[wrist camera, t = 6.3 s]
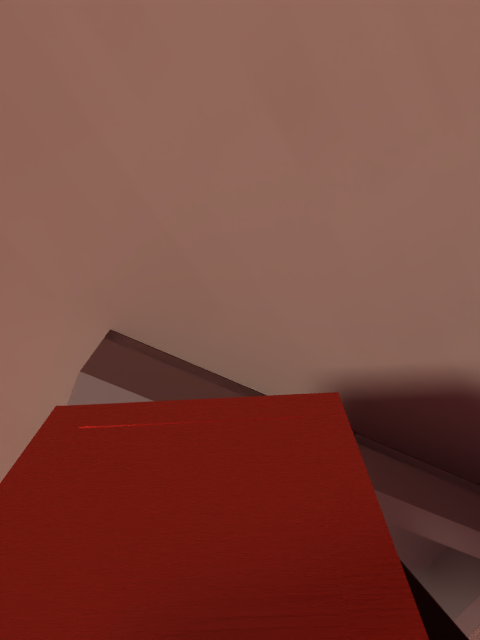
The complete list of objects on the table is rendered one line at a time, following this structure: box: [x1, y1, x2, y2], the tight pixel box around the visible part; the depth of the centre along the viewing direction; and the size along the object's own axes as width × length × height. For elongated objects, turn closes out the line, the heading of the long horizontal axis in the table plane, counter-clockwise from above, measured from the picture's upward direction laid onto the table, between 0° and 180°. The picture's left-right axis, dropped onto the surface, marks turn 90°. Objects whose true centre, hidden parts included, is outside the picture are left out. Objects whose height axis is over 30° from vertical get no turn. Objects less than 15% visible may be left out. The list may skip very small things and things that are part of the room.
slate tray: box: [67, 330, 480, 637], centre depth 20 cm, size 20×16×4 cm
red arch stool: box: [0, 392, 429, 640], centre depth 7 cm, size 6×5×6 cm
